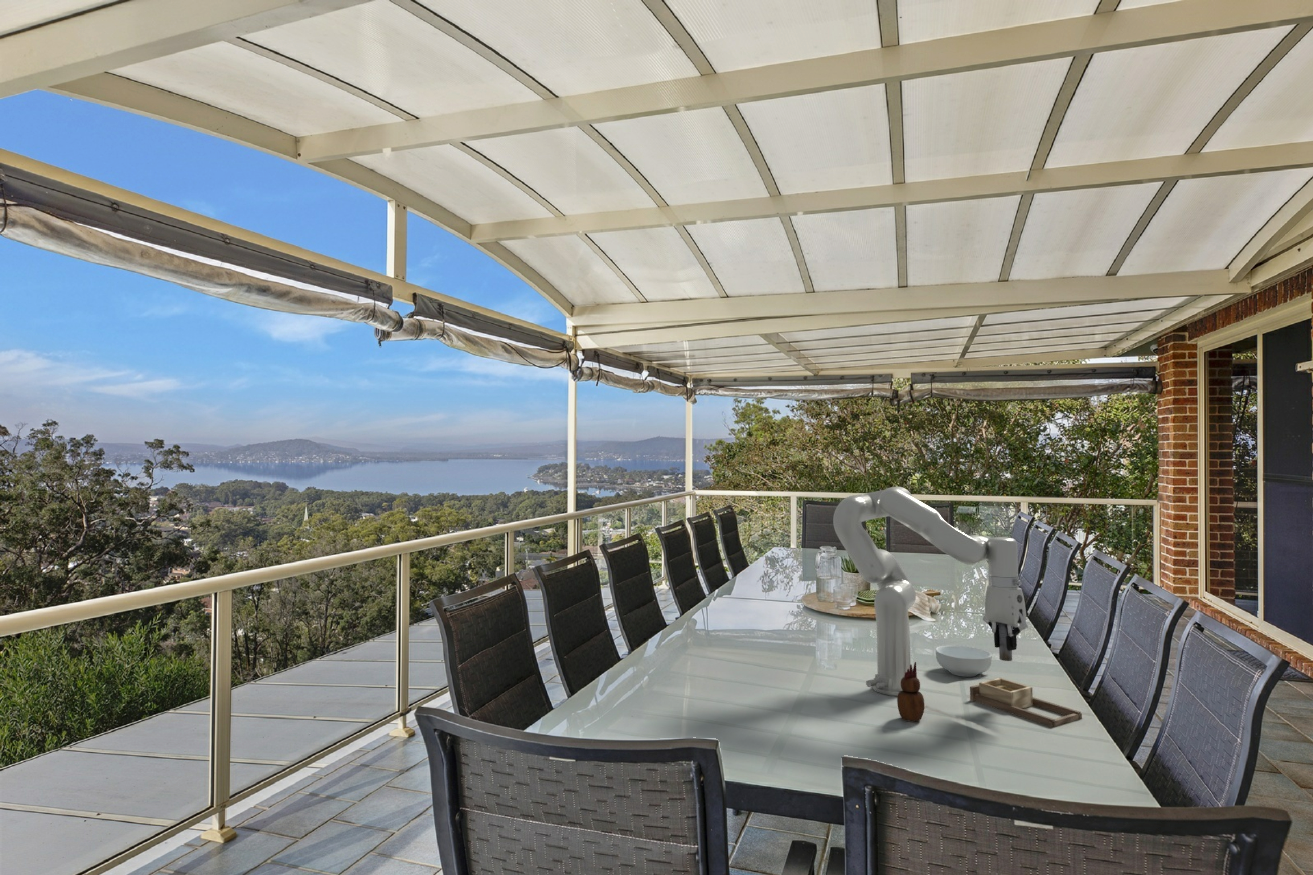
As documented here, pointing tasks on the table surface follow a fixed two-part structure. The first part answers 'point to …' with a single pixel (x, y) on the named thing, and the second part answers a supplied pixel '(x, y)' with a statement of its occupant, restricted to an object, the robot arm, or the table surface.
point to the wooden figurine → (910, 697)
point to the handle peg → (1004, 643)
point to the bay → (1070, 713)
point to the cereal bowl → (963, 660)
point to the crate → (1007, 692)
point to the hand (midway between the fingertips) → (1005, 647)
